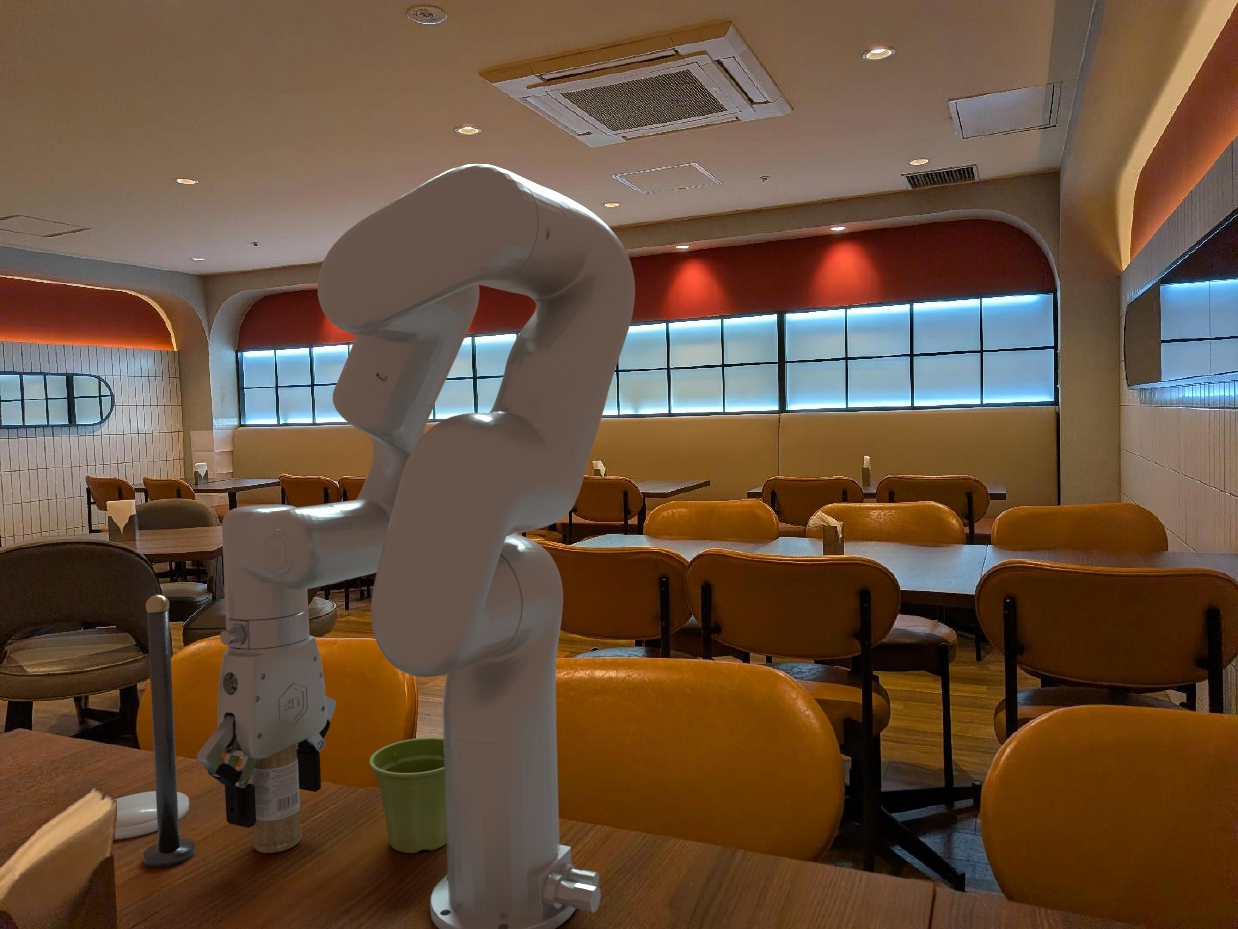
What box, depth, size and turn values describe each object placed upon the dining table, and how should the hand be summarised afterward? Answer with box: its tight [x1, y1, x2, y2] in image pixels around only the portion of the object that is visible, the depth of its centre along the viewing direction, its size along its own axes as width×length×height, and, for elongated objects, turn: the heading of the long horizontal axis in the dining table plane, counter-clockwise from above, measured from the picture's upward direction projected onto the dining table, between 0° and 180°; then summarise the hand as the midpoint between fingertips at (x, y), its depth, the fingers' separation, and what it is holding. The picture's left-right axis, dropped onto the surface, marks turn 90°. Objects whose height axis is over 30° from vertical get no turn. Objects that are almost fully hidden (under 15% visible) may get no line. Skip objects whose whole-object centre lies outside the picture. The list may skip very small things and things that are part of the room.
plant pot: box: [369, 737, 447, 854], centre depth 86 cm, size 9×9×9 cm
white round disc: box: [114, 790, 190, 840], centre depth 92 cm, size 10×10×1 cm
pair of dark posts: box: [142, 594, 196, 869], centre depth 89 cm, size 4×18×26 cm, turn 156°
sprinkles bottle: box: [250, 744, 303, 854], centre depth 85 cm, size 5×5×13 cm
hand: (275, 805), depth 86 cm, fingers open, 7 cm apart
